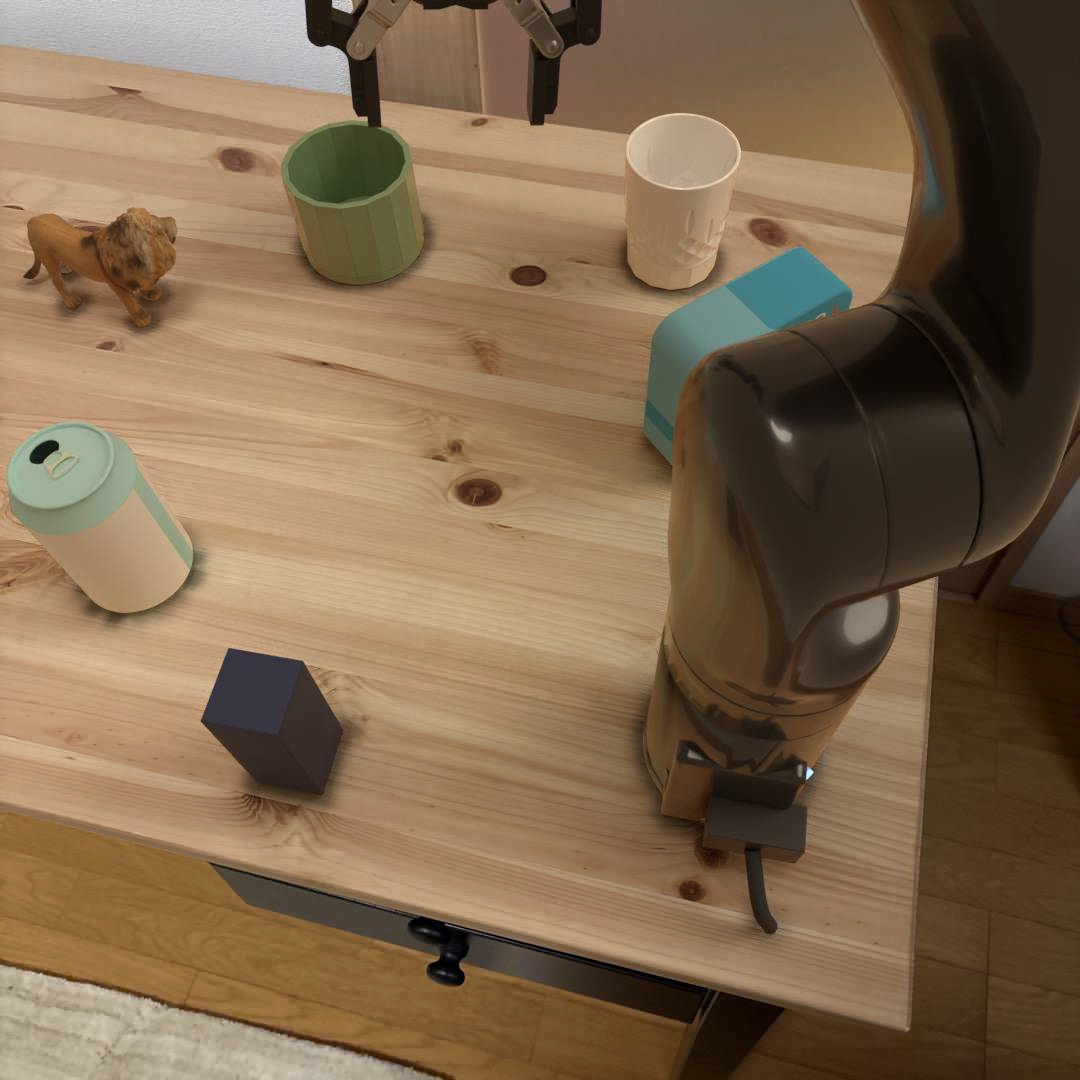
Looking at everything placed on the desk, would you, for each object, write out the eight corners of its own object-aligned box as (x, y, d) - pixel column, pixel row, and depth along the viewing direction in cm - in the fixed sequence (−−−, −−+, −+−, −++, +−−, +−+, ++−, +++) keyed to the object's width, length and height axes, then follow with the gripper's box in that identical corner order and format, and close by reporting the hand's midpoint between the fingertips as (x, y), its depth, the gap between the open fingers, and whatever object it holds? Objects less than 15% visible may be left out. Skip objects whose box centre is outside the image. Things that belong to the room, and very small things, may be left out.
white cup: (622, 220, 79) (628, 110, 71) (722, 224, 79) (740, 114, 70) (616, 294, 75) (622, 186, 67) (722, 299, 75) (741, 191, 66)
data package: (680, 487, 66) (699, 370, 56) (639, 442, 68) (651, 320, 58) (817, 405, 70) (860, 280, 59) (775, 364, 72) (809, 236, 61)
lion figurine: (215, 286, 77) (175, 192, 69) (188, 337, 75) (143, 245, 67) (42, 259, 79) (-15, 165, 71) (10, 308, 77) (-54, 216, 69)
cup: (406, 291, 76) (391, 214, 70) (289, 277, 77) (263, 199, 71) (436, 207, 81) (424, 127, 74) (325, 194, 82) (304, 114, 75)
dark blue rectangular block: (322, 795, 57) (277, 735, 48) (256, 782, 57) (199, 721, 49) (343, 728, 59) (303, 660, 50) (278, 716, 59) (228, 647, 51)
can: (74, 617, 63) (-24, 518, 53) (100, 522, 66) (13, 411, 56) (185, 617, 63) (108, 517, 52) (205, 521, 66) (137, 409, 56)
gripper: (266, -234, 37) (319, 161, 50) (639, -225, 39) (598, 155, 52) (274, -291, 42) (320, 85, 55) (608, -281, 44) (577, 82, 56)
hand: (456, 119), depth 53 cm, fingers open, 8 cm apart
